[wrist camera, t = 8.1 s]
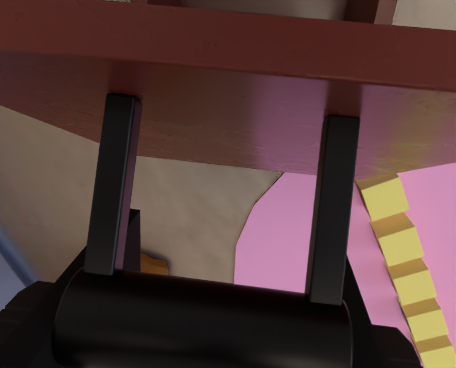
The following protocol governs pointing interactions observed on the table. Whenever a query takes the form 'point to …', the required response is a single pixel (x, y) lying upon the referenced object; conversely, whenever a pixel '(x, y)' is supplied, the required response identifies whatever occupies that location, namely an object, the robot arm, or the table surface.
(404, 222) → the platter
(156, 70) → the box lid
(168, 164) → the table surface
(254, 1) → the red box
